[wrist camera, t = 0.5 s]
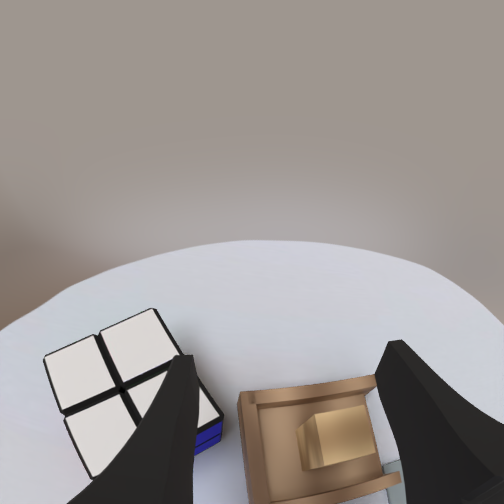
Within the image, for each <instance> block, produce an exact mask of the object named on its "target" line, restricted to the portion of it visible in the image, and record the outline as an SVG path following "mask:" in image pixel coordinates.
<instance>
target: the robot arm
mask: <svg viewBox="0 0 504 504" xmlns="http://www.w3.org/2000/svg"><path fill="white" fill-rule="evenodd" d="M374 375H375V380H376V384H377V389H378V393H379V397H380V400H381V402H382V405H383V408H384V411H385V413H386V416H387V419H388V421H389V424H390V427H391V430H392V432H393V435H394V438H395V441H396V444H397V447H398V451H399V456H400V460H401V465H402V471H403V477H404V484H405V493H406V504H504V424H502V423H500V422H498V421H496V420H495V419H493V418H491V417H490V416H488V415H487V414H485V413H483V412H482V411H481V410H479V409H478V408H476V407H475V406H474V405H472V404H471V403H470V402H468V401H467V400H466V399H464V398H463V397H462V396H461V395H459V394H458V393H457V392H456V391H455V390H454V389H452V388H451V387H450V386H449V385H448V384H447V383H446V382H445V381H444V380H443V379H441V378H440V377H439V376H438V375H437V374H436V373H435V372H434V371H433V370H432V369H431V368H430V367H429V366H428V365H427V364H426V363H425V362H424V361H423V360H422V359H421V358H420V357H419V356H418V355H417V354H416V353H415V352H414V351H413V350H412V349H411V348H410V347H409V346H408V345H407V344H406V343H405V342H404V341H403V340H402V339H401V340H395V341H388V344H387V346H386V349H385V351H384V353H383V356H382V358H381V361H380V363H379V365H378V367H377V370H376V372H375V374H374ZM199 403H200V387H199V383H198V378H197V373H196V368H195V363H194V358H193V355H175V356H174V357H173V359H172V361H171V364H170V366H169V369H168V371H167V373H166V376H165V378H164V380H163V382H162V384H161V386H160V388H159V390H158V392H157V394H156V395H155V397H154V399H153V401H152V403H151V405H150V407H149V408H148V410H147V412H146V413H145V415H144V417H143V418H142V420H141V421H140V423H139V425H138V426H137V428H136V429H135V431H134V432H133V434H132V435H131V437H130V438H129V439H128V441H127V442H126V443H125V445H124V446H123V447H122V449H121V450H120V451H119V452H118V454H117V455H116V456H115V457H114V459H113V460H112V461H111V462H110V463H109V464H108V466H107V467H106V468H105V469H104V470H103V471H102V472H101V473H100V474H99V475H98V476H97V477H96V478H95V479H94V480H93V481H92V482H91V483H90V484H89V485H88V486H87V487H86V488H85V489H84V490H83V491H81V492H80V493H79V494H78V495H77V496H75V497H74V498H73V499H72V500H70V501H69V502H68V503H67V504H193V462H194V454H195V445H196V437H197V429H198V420H199Z"/></svg>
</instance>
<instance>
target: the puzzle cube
mask: <svg viewBox="0 0 504 504" xmlns="http://www.w3.org/2000/svg"><path fill="white" fill-rule="evenodd" d="M175 355H184V354H183V353H182V351H181V349H180V348H179V346H178V345H177V343H176V341H175V340H174V338H173V336H172V335H171V333H170V331H169V330H168V328H167V326H166V325H165V323H164V321H163V320H162V318H161V316H160V315H159V313H158V311H157V309H154V308H149V309H147V310H145V311H143V312H140V313H138V314H136V315H134V316H131V317H129V318H127V319H125V320H123V321H120V322H118V323H116V324H114V325H112V326H109V327H107V328H105V329H103V330H100V332H99V334H98V336H97V335H94V334H92V335H90V336H87V337H85V338H83V339H81V340H79V341H76V342H74V343H72V344H70V345H67V346H65V347H63V348H61V349H58V350H56V351H54V352H52V353H49V354H47V355H45V357H44V359H43V363H44V366H45V370H46V373H47V376H48V379H49V382H50V385H51V388H52V391H53V394H54V397H55V400H56V402H57V405H58V408H59V410H60V413H62V414H63V415H65V418H64V420H63V421H64V424H65V426H66V429H67V431H68V433H69V436H70V438H71V440H72V443H73V445H74V447H75V449H76V451H77V453H78V455H79V458H80V460H81V462H82V464H83V466H84V468H85V470H86V472H87V473H88V475H89V477H90V479H91V480H94V479H95V478H96V477H97V476H98V475H99V474H100V473H101V472H102V471H103V470H104V469H105V468H106V467H107V466H108V464H109V463H110V462H111V461H112V460H113V459H114V457H115V456H116V455H117V454H118V452H119V451H120V450H121V449H122V447H123V446H124V445H125V443H126V442H127V441H128V439H129V438H130V437H131V435H132V434H133V432H134V431H135V429H136V428H137V426H138V425H139V423H140V421H141V420H142V418H143V417H144V415H145V413H146V412H147V410H148V408H149V407H150V405H151V403H152V401H153V399H154V397H155V395H156V394H157V392H158V390H159V388H160V386H161V384H162V382H163V380H164V378H165V376H166V373H167V371H168V369H169V366H170V364H171V361H172V359H173V357H174V356H175ZM197 378H198V376H197ZM198 383H199V387H200V403H199V420H198V429H197V437H196V445H195V454H194V456H195V455H197V454H198V453H200V452H202V451H204V450H206V449H208V448H209V447H211V446H213V445H215V444H216V443H218V442H220V440H221V435H222V426H223V418H224V414H223V412H222V411H221V410H220V408H219V407H218V405H217V404H216V403H215V401H214V400H213V398H212V397H211V395H210V394H209V392H208V391H207V390H206V388H205V387H204V385H203V384H202V382H201V381H200V379H199V378H198Z"/></svg>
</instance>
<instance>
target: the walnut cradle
mask: <svg viewBox="0 0 504 504" xmlns="http://www.w3.org/2000/svg"><path fill="white" fill-rule="evenodd" d="M376 386H377V384H376V380H375V375H374V374H373V375H368V376H362V377H357V378H351V379H346V380H340V381H334V382H327V383H320V384H313V385H306V386H298V387H289V388H279V389H269V390H257V391H244V392H240V394H239V398H238V402H237V408H238V417H239V426H240V435H241V443H242V452H243V460H244V468H245V476H246V484H247V491H248V499H249V504H337V503H341V502H345V501H348V500H352V499H355V498H358V497H362V496H365V495H368V494H371V493H374V492H377V491H380V490H383V489H386V488H388V487H391V486H394V485H396V484H399V483H402V481H401V476H400V471H397V472H393V473H388V474H383V472H382V467H381V463H380V458H379V454H378V449H377V445H376V441H375V436H374V432H373V428H372V424H371V420H370V416H369V412H368V408H367V404H366V400H365V395H366V394H368V393H369V392H370V391H371V390H373V389H374V388H375V387H376ZM360 405H364V406H365V410H366V414H367V418H368V422H369V426H370V430H371V434H372V439H373V443H374V447H375V453H373V454H370V455H367V456H364V457H361V458H357V459H354V460H351V461H348V462H344V463H340V464H336V465H331V466H327V467H322V468H317V469H312V470H307V471H302V467H301V461H300V455H299V449H298V443H297V437H296V432H295V430H296V429H297V428H299V427H300V426H301V425H302V424H303V423H305V422H306V421H307V420H308V419H310V418H311V417H312V416H313V415H314V414H319V413H325V412H331V411H336V410H341V409H346V408H351V407H356V406H360Z"/></svg>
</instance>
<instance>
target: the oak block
mask: <svg viewBox="0 0 504 504" xmlns="http://www.w3.org/2000/svg"><path fill="white" fill-rule="evenodd" d="M295 432H296V437H297V443H298V449H299V455H300V461H301V467H302V471H307V470H312V469H317V468H322V467H327V466H331V465H336V464H340V463H344V462H348V461H351V460H354V459H357V458H361V457H364V456H367V455H370V454H373V453H375V447H374V443H373V439H372V434H371V430H370V426H369V422H368V418H367V414H366V410H365V406H364V405H360V406H356V407H351V408H346V409H341V410H336V411H331V412H325V413H319V414H314V415H313V416H312V417H311V418H310V419H308V420H307V421H306V422H305V423H303V424H302V425H301V426H300V427H299V428H297V429H296V430H295Z"/></svg>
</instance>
